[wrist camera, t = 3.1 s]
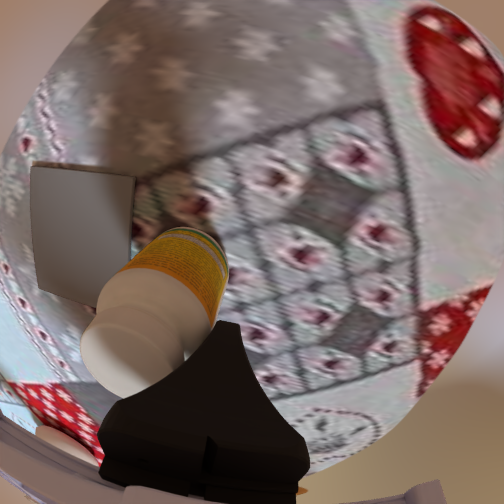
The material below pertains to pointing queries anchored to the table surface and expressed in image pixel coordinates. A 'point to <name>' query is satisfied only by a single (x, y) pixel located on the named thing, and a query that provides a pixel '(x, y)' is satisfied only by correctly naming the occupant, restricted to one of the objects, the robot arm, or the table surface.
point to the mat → (79, 229)
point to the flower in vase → (63, 446)
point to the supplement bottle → (155, 311)
